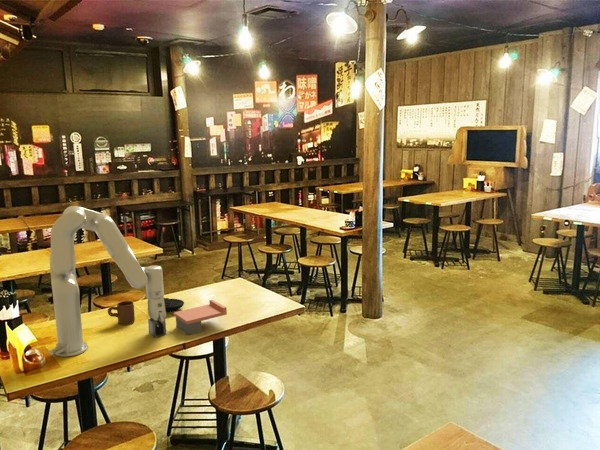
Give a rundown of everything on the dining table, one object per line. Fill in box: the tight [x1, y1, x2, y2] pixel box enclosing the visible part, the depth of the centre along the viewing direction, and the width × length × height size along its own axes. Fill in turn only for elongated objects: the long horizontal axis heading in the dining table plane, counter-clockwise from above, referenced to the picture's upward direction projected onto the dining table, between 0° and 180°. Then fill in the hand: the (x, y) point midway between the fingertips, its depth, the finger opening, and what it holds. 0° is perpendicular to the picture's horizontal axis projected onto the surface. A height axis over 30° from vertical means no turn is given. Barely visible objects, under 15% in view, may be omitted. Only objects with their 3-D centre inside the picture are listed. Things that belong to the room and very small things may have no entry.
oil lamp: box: [163, 296, 185, 314], centre depth 254 cm, size 15×20×5 cm
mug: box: [107, 300, 136, 326], centre depth 235 cm, size 12×8×9 cm, turn 125°
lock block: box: [147, 318, 167, 338], centre depth 222 cm, size 6×5×7 cm
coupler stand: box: [173, 299, 228, 336], centre depth 231 cm, size 20×14×9 cm
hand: (157, 331), depth 223 cm, fingers open, 5 cm apart
